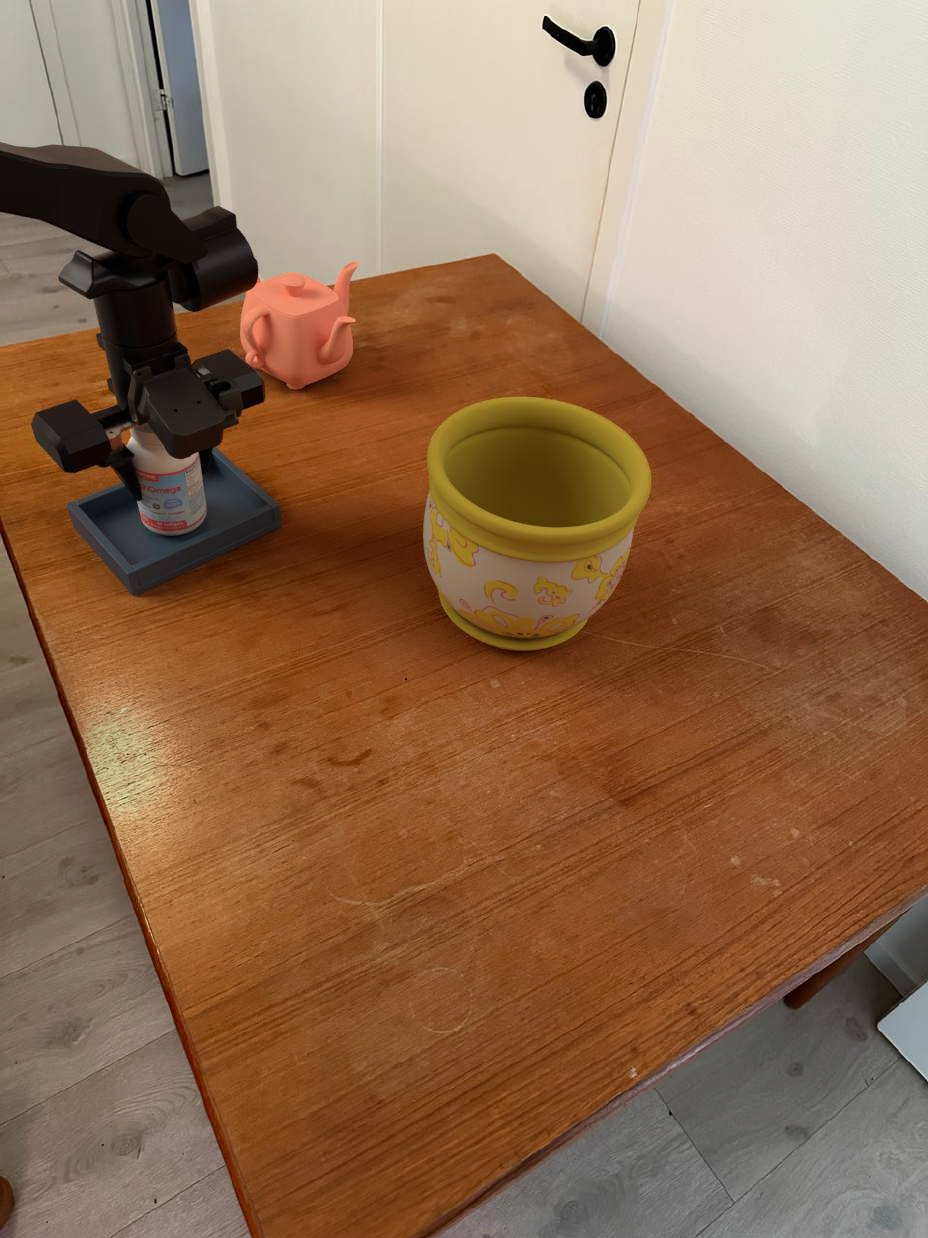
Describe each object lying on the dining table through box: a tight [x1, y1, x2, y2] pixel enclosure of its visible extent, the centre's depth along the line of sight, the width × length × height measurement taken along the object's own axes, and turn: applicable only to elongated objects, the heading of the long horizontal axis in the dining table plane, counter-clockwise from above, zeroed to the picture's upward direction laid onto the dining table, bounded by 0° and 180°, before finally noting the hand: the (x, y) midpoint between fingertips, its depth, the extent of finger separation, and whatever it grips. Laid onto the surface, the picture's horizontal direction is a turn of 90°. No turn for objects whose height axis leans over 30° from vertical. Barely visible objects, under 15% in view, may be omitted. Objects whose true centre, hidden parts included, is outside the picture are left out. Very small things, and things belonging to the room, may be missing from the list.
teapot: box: [239, 261, 360, 390], centre depth 100 cm, size 14×14×11 cm
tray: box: [65, 446, 282, 597], centre depth 83 cm, size 16×12×3 cm
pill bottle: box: [126, 423, 207, 536], centre depth 78 cm, size 6×6×11 cm
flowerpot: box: [422, 396, 652, 652], centre depth 75 cm, size 18×18×16 cm
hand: (169, 485), depth 80 cm, fingers closed on pill bottle, 6 cm apart
